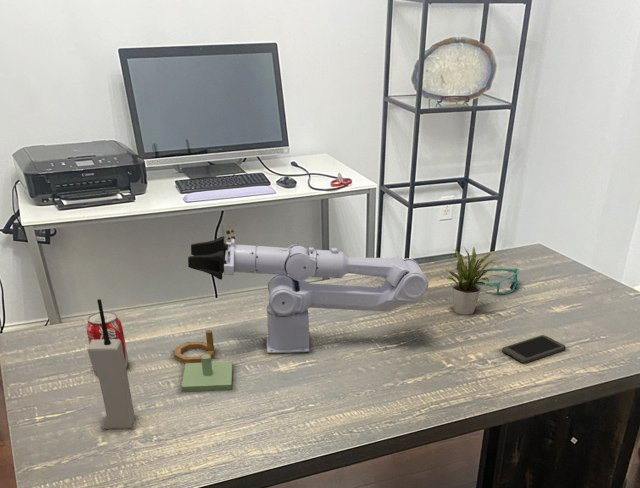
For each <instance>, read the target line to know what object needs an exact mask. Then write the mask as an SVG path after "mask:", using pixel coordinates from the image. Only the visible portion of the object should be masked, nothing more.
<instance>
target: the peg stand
mask: <svg viewBox="0 0 640 488" xmlns="http://www.w3.org/2000/svg"><path fill="white" fill-rule="evenodd" d="M204 354H205V353H204ZM201 355H202V356H201ZM201 355H200V356H201V362H202V363H185V364H184V369H183V373H182V374H183V375H182V380H181V385H180V387H181V392H203V391H207V392H208V391H228V390H229V391H230V390H233V374H234V373H233V372H234V371H233V370H234V363H233V361H213V362H212V359H211V356H210V355H208V354H205V355H203V354H201Z"/></svg>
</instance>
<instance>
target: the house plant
mask: <svg viewBox="0 0 640 488" xmlns="http://www.w3.org/2000/svg"><path fill="white" fill-rule="evenodd" d="M464 250H465V252H466V255H467V262H465V261H464V259H463V256H462V255H461V254H460V253H459V252H458V250H457V249H454V248H453V251H454V253H455V255H456V258H457V262H456V265H455V263H453V261H452V260H451V259H449V258H448V257H444V258H445V259H448V261H450V262H451V263H452V264H453V265H454V266H456V267H455V269H456V270H457V273H455V272H453V271H452V270H449V269H446V271H447V272H449V273H450V275H451V276H446V277H445V279H448V280H450V281H453V282H454V284H453V285H452V298H453V300H452V302H453V311H454V313H456V314H458V315H464V316H465V315H466V316H467V315H472V314H474V313H475V309H476V307H477V304H478V300H479V296H480V294H481V290H482V288H481V287H480V285H476V284H483V285H482V286H485V287H487V286H486V285H485V283H486V282H487V283H490V279H489V278H488V277H483V276H484V275H485V274H486V273H488V272H490V271H489V270H492V269H490V268H487V269H488V270H485V269H486V267H487V266H488V265H490V264H500V262H498V261H496V259H492V260H489V261H488V262H486V263H485V264H484V265H483V263H484V262H485V261H486V260H487V259H488V258H489V257H490V256H491V255H494V254H496V253H497V251H492V252H489V253H487V254H485V255H484V256H483V257H481V258H479V259H477V252H476V248H475V247H472V251H471V256H470V253H469V251H468V250H467V249H466V248H464ZM480 268H481V269H480ZM479 269H480V270H479ZM483 270H485V271H484V272H483ZM481 272H482V273H481ZM452 276H453V277H452ZM484 281H486V282H484Z"/></svg>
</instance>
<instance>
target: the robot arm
mask: <svg viewBox="0 0 640 488" xmlns="http://www.w3.org/2000/svg"><path fill="white" fill-rule="evenodd" d="M187 264H188V265H187V267H188V268H190V269H192V270H196V271H200V272H203V273H206V274H209V275H210V276H212V277H214V278H217V280H223V275H224V276H234V274H235V273H239V274H240V273H241V274H243V273H244V274H260V275H273V276H272V277H271V278H270V279H269V281H268V283H267V290H268V304H267V306H266V320H267V321H266V322H267V336H266V353H267V354H288V353H291V354H293V353H309V352H310V340H311V332H310V317H309V309H325V310H326V309H330V310H347V311H348V310H349V311H364V312H365V311H367V312H391V311H394V310H396V309H398V308H401V307H403V306H405V305H408V304H417V303H418V302H419V301H420V299H422V298H423V297H424V296H425V295H426V293H427V292H428V289H429V280H428V277H427V276H426V275H425V274H424V272H423V270H422V269H421V265H420V263H418V261H416V260H415V259H413V258H410V257H409V258H408V257H407V258H403V257H400V256H394V257H353V256H351V257H350V256H349V257H348V256H347V255H346V254H345V253H344V252H343V251H341V250H338V248H337V247H331V248H330V250H328V249H327V250H326V249H315V248H314V247H311V246H309V248H305V247H304V246H302V245H300V244H299V243H295V244H292V245H291V244H290V246H288V247H278V246H268V245H267V246H264V245H249V244H236V239H235V238H231V242H230V241H226V243H225V236H220V237H218V238H215V239H213V240H209V241H204V242H197V243H191V245H190V255H189V256H188V257H187ZM347 274H350V275H360V276H367V277H369V276H370V277H377V278H383V279H384V280H385V281H384V282H383V283H382V284H381V285H380V286H365V285H364V286H360V285H346V284H345V285H344V284H329V283H312V282H311V283H310V282H308V281H307V279H309V277H312V278H328V279H342V278H343V277H344V276H346V275H347Z"/></svg>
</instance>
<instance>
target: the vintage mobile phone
mask: <svg viewBox="0 0 640 488" xmlns="http://www.w3.org/2000/svg"><path fill="white" fill-rule="evenodd" d="M97 306H98V310H99V311H98V312H100V317H101V322H102V331H103V336H104V339H100V340H91V342H90V344H89V343H88V346H87V349H86V350H87V353H88V357H89V359H90V363H91V367H92V369H93V372H94V375H95V376H96V377H97V378H98V380H99V385H100V391H101V395H102V399H103V404H104V409H105V414H106V415H105V417H104V421H103V423H102V426H103V429H105V430H119V429H120V430H122V429H123V430H124V429H132V427H133V423H134V421H135V418H136V415H135V410H134V404H133V398H132V394H131V393H132V392H131V388H130V382H129V376H128V371H127V367H126V365H125V359H124V354H123V348H122V342H121V340H120V339H109V335H108V330H107V326H106V323H105V318H104V313H103V311H104V308H103V303H102V299H100V298H98V299H97Z"/></svg>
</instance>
